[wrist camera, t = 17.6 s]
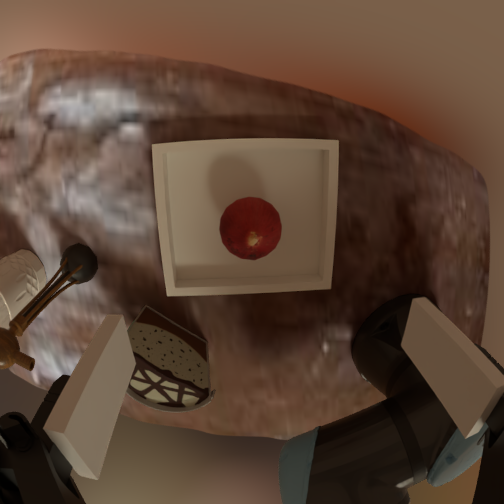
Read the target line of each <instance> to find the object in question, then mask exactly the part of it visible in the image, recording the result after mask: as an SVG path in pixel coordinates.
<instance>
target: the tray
mask: <svg viewBox="0 0 504 504" xmlns="http://www.w3.org/2000/svg"><path fill="white" fill-rule="evenodd" d="M152 157H153V173H154V187H155V200H156V211H157V221H158V231H159V240H160V248H161V256H162V264H163V272H164V279H165V286H166V292H167V296H200V295H229V294H252V293H272V292H290V291H306V290H321V289H331V281H332V270H333V259H334V246H335V232H336V216H337V195H338V165H339V140H323V139H294V138H246V139H216V140H198V141H184V142H171V143H160V144H152ZM245 197H257V198H261V199H263V200H265V201H267V202H269V203H271V204H272V205H273V206H274V208H275V209H276V210H277V211H278V213H279V215H280V220H281V224H282V232H281V239H280V241H279V242H278V244H277V246H276V248H275V249H274V250H273V251H272V252H270V253H269V254H268V255H267V256H265V257H262V258H259V259H257V260H247V259H240V258H239V257H237V256H235V255H233V254H232V253H230V252H229V251H228V250H227V248H226V247H225V246H224V244H223V243H222V240H221V236H220V231H219V226H220V218H221V216H222V214H223V212H224V211H225V209H226V207H228V206H229V205H230V204H232V203H233V202H235V201H236V200H238V199H241V198H245Z"/></svg>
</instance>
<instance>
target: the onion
mask: <svg viewBox="0 0 504 504" xmlns="http://www.w3.org/2000/svg"><path fill="white" fill-rule="evenodd" d="M219 231H220V236H221V240H222V243H223V244H224V246H225V247H226V248H227V250H228V251H229V252H230V253H232V254H233V255H235V256H237V257H239V258H240V259H247V260H257V259H259V258H262V257H265V256H267V255H268V254H269V253H270V252H272V251H273V250H274V249H275V248H276V246H277V244H278V242H279V241H280V239H281V232H282V224H281V220H280V215H279V213H278V211H277V210H276V209H275V208H274V206H273V205H272V204H271V203H269V202H267V201H265V200H263V199H261V198H257V197H245V198H241V199H238V200H236V201H235V202H233V203H232V204H230V205H229V206H228V207H226V209H225V211H224V212H223V214H222V216H221V218H220V226H219Z"/></svg>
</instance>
